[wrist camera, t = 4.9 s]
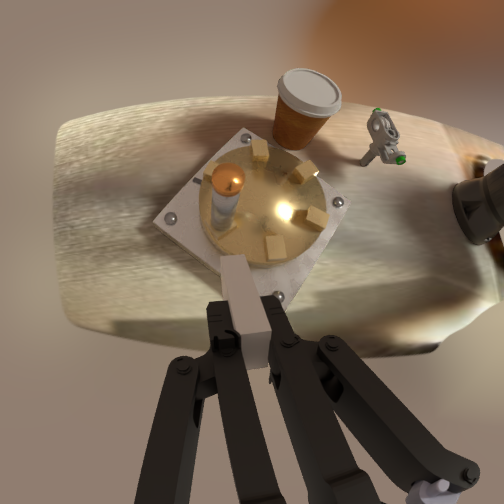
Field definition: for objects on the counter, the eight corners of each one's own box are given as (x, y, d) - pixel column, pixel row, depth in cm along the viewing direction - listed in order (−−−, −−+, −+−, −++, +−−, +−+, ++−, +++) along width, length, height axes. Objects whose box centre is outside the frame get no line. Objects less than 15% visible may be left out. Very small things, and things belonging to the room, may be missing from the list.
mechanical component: (365, 188, 43) (398, 158, 34) (347, 140, 46) (372, 105, 36) (379, 188, 44) (411, 159, 34) (360, 141, 46) (386, 108, 37)
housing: (344, 208, 41) (352, 200, 39) (276, 317, 35) (281, 316, 33) (241, 136, 42) (243, 125, 39) (155, 228, 36) (152, 220, 33)
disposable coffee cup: (251, 133, 42) (265, 80, 31) (285, 108, 45) (304, 60, 34) (296, 168, 42) (323, 120, 30) (326, 139, 45) (355, 94, 33)
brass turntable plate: (336, 201, 38) (388, 148, 25) (277, 293, 33) (323, 271, 20) (246, 139, 39) (264, 67, 25) (173, 217, 34) (157, 153, 20)
